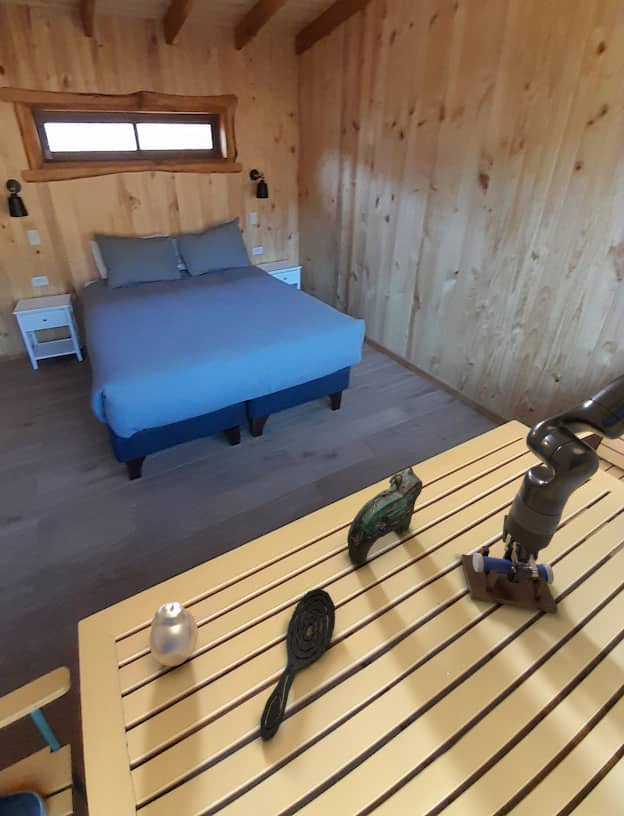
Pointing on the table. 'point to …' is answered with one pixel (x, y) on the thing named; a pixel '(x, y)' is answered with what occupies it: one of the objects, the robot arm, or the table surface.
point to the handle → (506, 566)
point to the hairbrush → (300, 651)
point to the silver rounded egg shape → (173, 634)
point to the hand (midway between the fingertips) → (509, 572)
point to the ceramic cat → (384, 514)
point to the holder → (506, 588)
